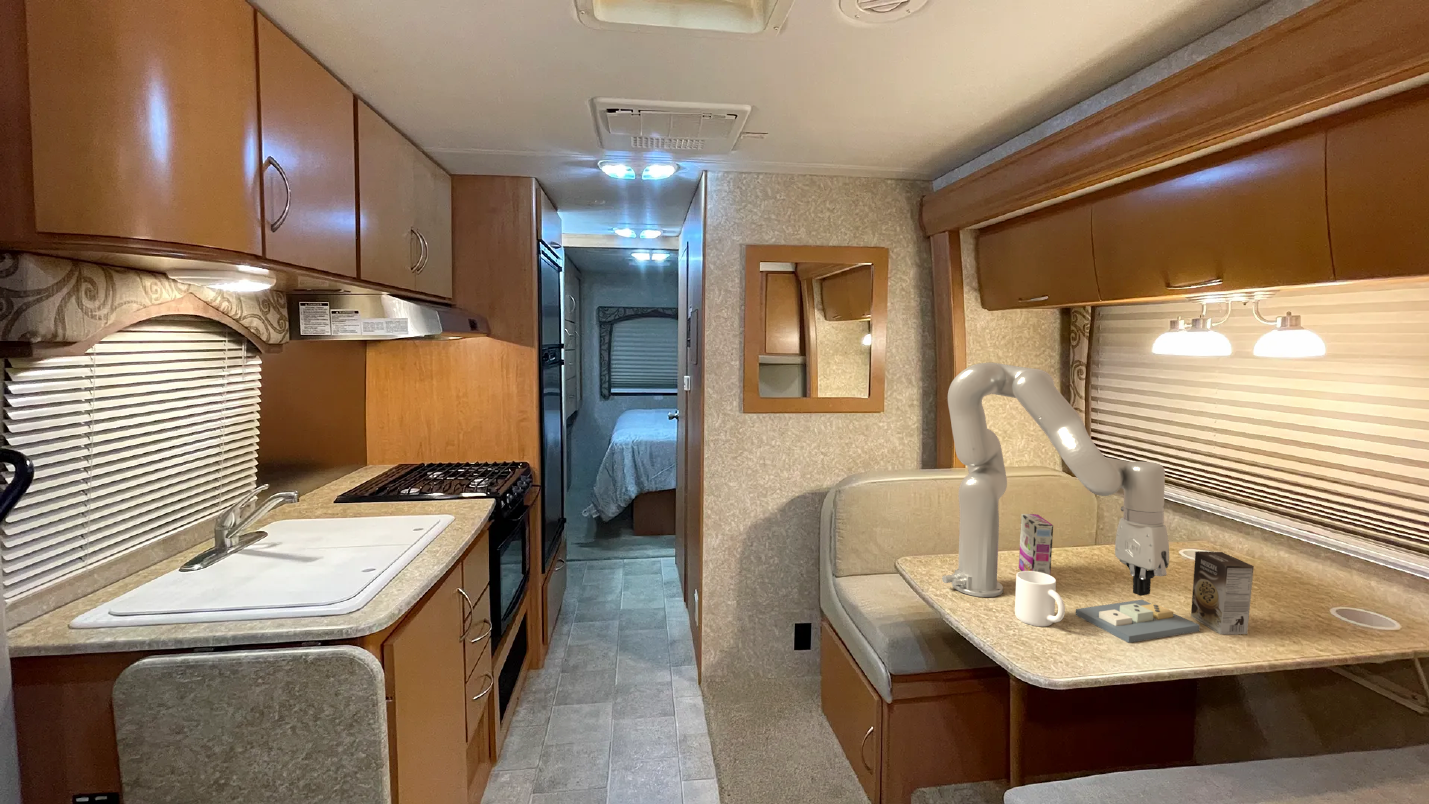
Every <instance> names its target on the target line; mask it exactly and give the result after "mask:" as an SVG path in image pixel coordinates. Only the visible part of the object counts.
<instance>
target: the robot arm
mask: <svg viewBox="0 0 1429 804" xmlns="http://www.w3.org/2000/svg"><path fill="white" fill-rule="evenodd" d="M948 387H949V388H948V391H947V392H948V393H947V405H948V411H949V417H950V422H951V425H950V426H951V431H952V437H953V438H952V439H953V442H954V450H955V454H956V457H957V459H958V460H959V462H961V463H962V465H964V466H967V470H968V474H967V475H966V476H965V477H964V478H962V480H961V482H960V485H959V488H958V506H959V538H958V542H959V543H958V568H956V569H954V573H952V574H951V575H950V574H947V575H945V574H944V575H942V577H941V581H942V582H943V583H944V584H949V583H951V585H952V587H953V588H954V589H955V590H957V591H958V592H960V593H963V594H966V595H969V596H973V597H980V598H992V597H998V596H1000V595H1002V594H1003V592H1004V586H1003V585H1002V584H1001V583H1000V582H999V581H998V567H999V566H998V565H999V564H998V562H999V561H998V560H999V538H1000V537H999V534H1000V533H999V531H1000V528H999V527H1000V514H999V513H1000V512H999V501H1000V499H1001V497H1003V495H1004V494H1005V493H1006V490H1007V487H1008V478H1007V473H1006V466H1005V460H1004V456H1003V450H1002V445H1001V442H1000V439H999V437H998V436H997V434H996V433H995V432H994V431H993V430H991V429H989V428H988V425H987V419H986V414H985V409H984V406H983V399H984V397H986V396H989V395H996V396H1002V397H1007V398H1013V399H1016V400H1017V401H1018V402H1019V403H1020V405H1021V406H1022V407H1023V409H1024V410H1025V411H1026V412H1027V413H1028V414H1029V416H1030V417H1031V418H1032V419H1033V420H1034V421H1035V423H1036V424H1037V426H1039V428H1040V429H1041V430H1042V431H1043V432H1044V434H1045V436H1047V438H1048V439H1049V441H1050V443H1051V445H1052V446H1053V447H1054V448H1055V451H1056V452H1057V453H1058V454H1059V456H1060V458H1061V459H1062V460H1063V462H1064V463H1065V465H1066V466H1067V467H1068V468H1069V471H1071V472H1072V474H1073V475H1074V476H1075V477H1076V478H1077V480H1078V481H1079V482H1080V483H1081V485H1083V487H1085V489H1086V490H1087V491H1089V492H1090V493H1091V494H1094V495H1096V496H1100V497H1108V496H1111V495H1114V494H1116V493H1117V492H1118V491H1119V490H1120V489H1122V490H1123V505H1122V506H1120V511H1121V512H1123V514H1122V515H1123V517H1120V518H1119V522H1118V525H1117V528H1116V529H1117V530H1116V535H1115V543H1114V545H1115V546H1114V556H1115V557H1116V558H1117V559H1118V561H1119V562H1120V563H1122V564H1123V565H1125V566H1126V567H1127V568H1128V570H1129V574H1130V576H1131V577H1132V593H1133V594H1134V595H1137V596H1139V597H1142V596H1147V595H1148V596H1149V595H1150V594H1151V584H1152V583H1151V580H1152V579H1154V577H1155V576H1156V577H1164V576H1165V577H1166V576H1167V574H1168V573H1167V568H1168V567H1169V564H1170V544H1169V536H1168V535H1169V534H1168V530H1167V526H1166V525H1165V524H1164V522H1165V521H1164V516H1165V482H1166V479H1165V477H1166V476H1165V475H1166V471H1165V468H1164V466H1163V465H1162V464H1160V463H1157V462H1152V461H1150V462H1149V461H1136V460H1135V461H1129V460H1123V459H1116V458H1111V457H1106V456H1105V455H1104V454H1103V453H1102V452H1101V451H1100V449H1099V447H1097V446H1096V444H1095V443H1094V441H1093V439H1092V438H1091V437H1090V435H1089V433H1088V431H1087V429H1086V428H1087V427H1086V426H1085V423H1084V421H1083V419H1082V417H1081V416H1080V414H1079V413H1078V412H1077V411H1076V409H1075V408H1074V407H1073V406H1072V405H1071V404H1070V403H1069V402H1068V400H1067V399H1066V398H1065V396H1063V394H1062V393H1061V392H1060V391H1059V390H1058V388H1057V387H1056V385H1055V381H1054V379H1053V377H1052V375H1051V374H1050V373H1048V372H1047V371H1045V370H1043V369H1041V368H1040V369H1039V368H1030V367H1024V366H1016V365H1011V364H1010V365H1009V364H1004V363H1000V362H999V363H998V362H981V363H976V364H973V365H970V366H968V367H967V368H965V369H963V370H961V371H960V373H958V374H957V375H956V376H955V377H954V378H953V380H952V381H951V383H950V385H949V386H948Z"/></svg>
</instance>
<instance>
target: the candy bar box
mask: <svg viewBox="0 0 1429 804" xmlns="http://www.w3.org/2000/svg"><path fill="white" fill-rule="evenodd" d="M1020 516H1021V518H1020V532H1019V533H1020V538H1019V539H1020V541H1019V553H1018V554H1019V555H1018V556H1019V557H1018V569H1019V570H1020V572H1021V571H1036V572H1041V573H1045V574H1048V575H1050V576H1051V573H1052V572H1051V570H1052V569H1051V568H1052V555H1053V554H1052V553H1053V552H1052V551H1053V538H1054V537H1053V535H1054V525H1053V524H1052V523H1051V522H1049V521H1048V520H1046V519H1045V518H1044V517H1042V516H1041V515H1039V514H1033V513H1021V514H1020Z"/></svg>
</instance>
